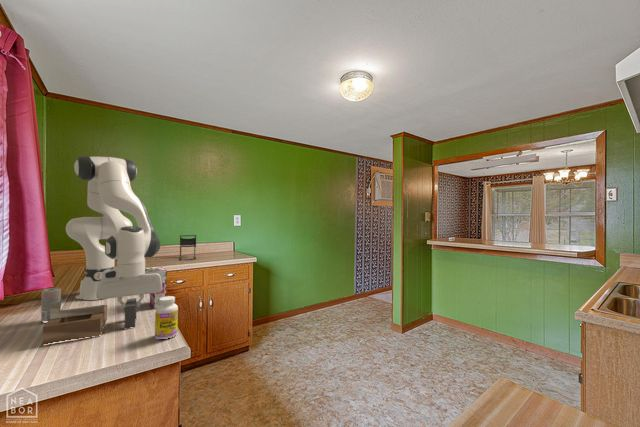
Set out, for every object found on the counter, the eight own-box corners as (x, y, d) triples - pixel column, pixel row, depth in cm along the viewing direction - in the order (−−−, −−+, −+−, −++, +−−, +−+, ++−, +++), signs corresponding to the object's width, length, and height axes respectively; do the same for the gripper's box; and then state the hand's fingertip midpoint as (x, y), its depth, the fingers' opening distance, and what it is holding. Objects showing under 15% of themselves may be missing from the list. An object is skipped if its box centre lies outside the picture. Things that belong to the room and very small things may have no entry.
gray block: (126, 319, 107) (127, 299, 107) (136, 318, 109) (136, 298, 109) (124, 329, 99) (124, 306, 99) (134, 327, 100) (135, 305, 100)
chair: (179, 260, 239) (179, 235, 239) (179, 257, 254) (180, 233, 254) (196, 259, 244) (196, 234, 244) (195, 257, 260) (195, 233, 260)
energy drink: (59, 317, 109) (59, 286, 109) (61, 320, 106) (62, 289, 106) (40, 321, 105) (40, 289, 105) (42, 325, 102) (42, 292, 102)
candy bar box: (166, 307, 123) (167, 269, 123) (153, 309, 119) (154, 271, 119) (161, 300, 131) (161, 265, 131) (149, 302, 128) (149, 267, 128)
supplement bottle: (156, 342, 89) (156, 302, 89) (153, 335, 94) (154, 297, 94) (179, 337, 93) (179, 298, 93) (175, 330, 98) (176, 294, 98)
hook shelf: (57, 327, 99) (58, 297, 99) (106, 320, 107) (107, 291, 107) (42, 346, 86) (43, 310, 86) (100, 336, 93) (100, 303, 93)
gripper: (163, 266, 112) (162, 300, 112) (98, 271, 101) (98, 309, 101) (163, 269, 107) (163, 305, 107) (95, 274, 96) (95, 314, 96)
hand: (130, 307), depth 104 cm, fingers closed on gray block, 3 cm apart
